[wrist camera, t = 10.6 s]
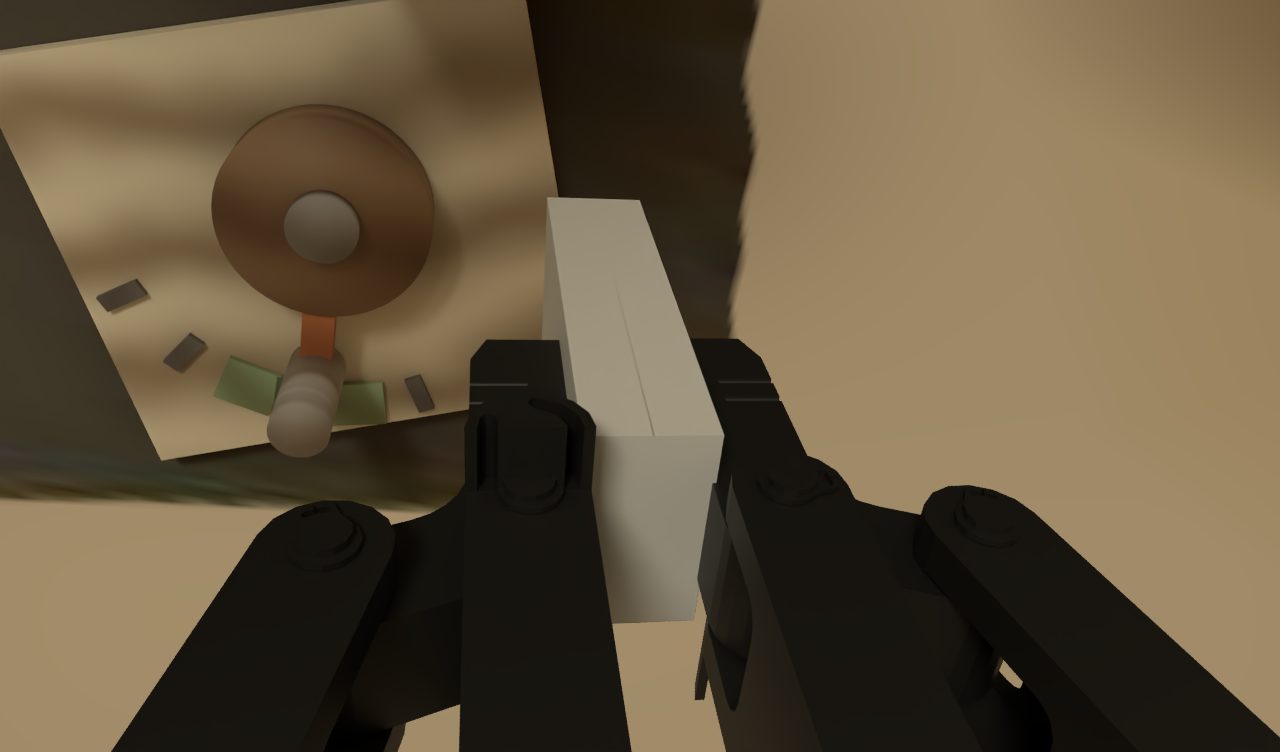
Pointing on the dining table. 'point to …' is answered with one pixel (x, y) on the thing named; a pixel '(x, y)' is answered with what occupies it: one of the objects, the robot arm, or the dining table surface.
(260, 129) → the dial
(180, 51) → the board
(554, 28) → the dining table surface
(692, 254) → the dining table surface
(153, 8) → the dining table surface
